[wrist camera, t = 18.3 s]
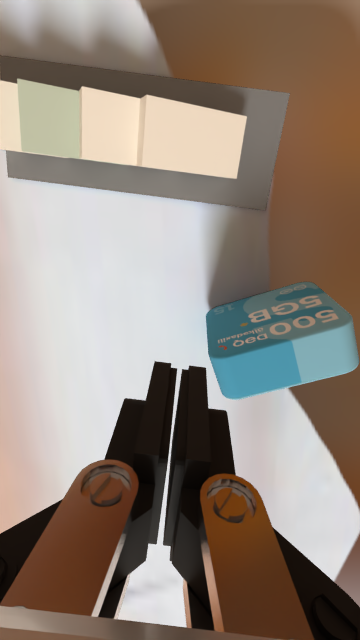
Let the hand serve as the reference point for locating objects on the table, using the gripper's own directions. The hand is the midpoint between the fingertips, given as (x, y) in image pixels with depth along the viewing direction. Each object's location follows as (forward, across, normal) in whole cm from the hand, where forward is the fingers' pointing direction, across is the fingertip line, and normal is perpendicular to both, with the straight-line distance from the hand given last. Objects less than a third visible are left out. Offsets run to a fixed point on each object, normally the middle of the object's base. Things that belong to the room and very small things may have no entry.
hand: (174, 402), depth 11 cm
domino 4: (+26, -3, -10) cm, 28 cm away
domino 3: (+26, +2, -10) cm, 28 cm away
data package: (+27, -9, +6) cm, 29 cm away
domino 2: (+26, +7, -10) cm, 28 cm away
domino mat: (+27, +6, -10) cm, 29 cm away
